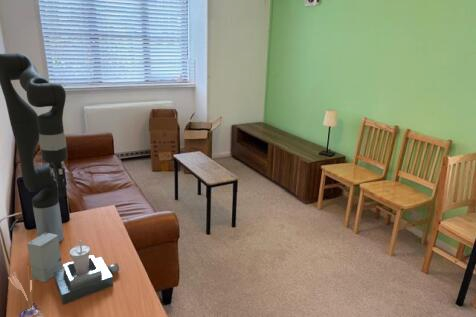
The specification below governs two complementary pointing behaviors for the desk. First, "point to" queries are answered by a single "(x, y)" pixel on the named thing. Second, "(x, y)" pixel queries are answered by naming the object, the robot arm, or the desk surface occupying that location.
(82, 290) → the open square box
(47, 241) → the skincare box
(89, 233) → the desk surface
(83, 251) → the smoothie
